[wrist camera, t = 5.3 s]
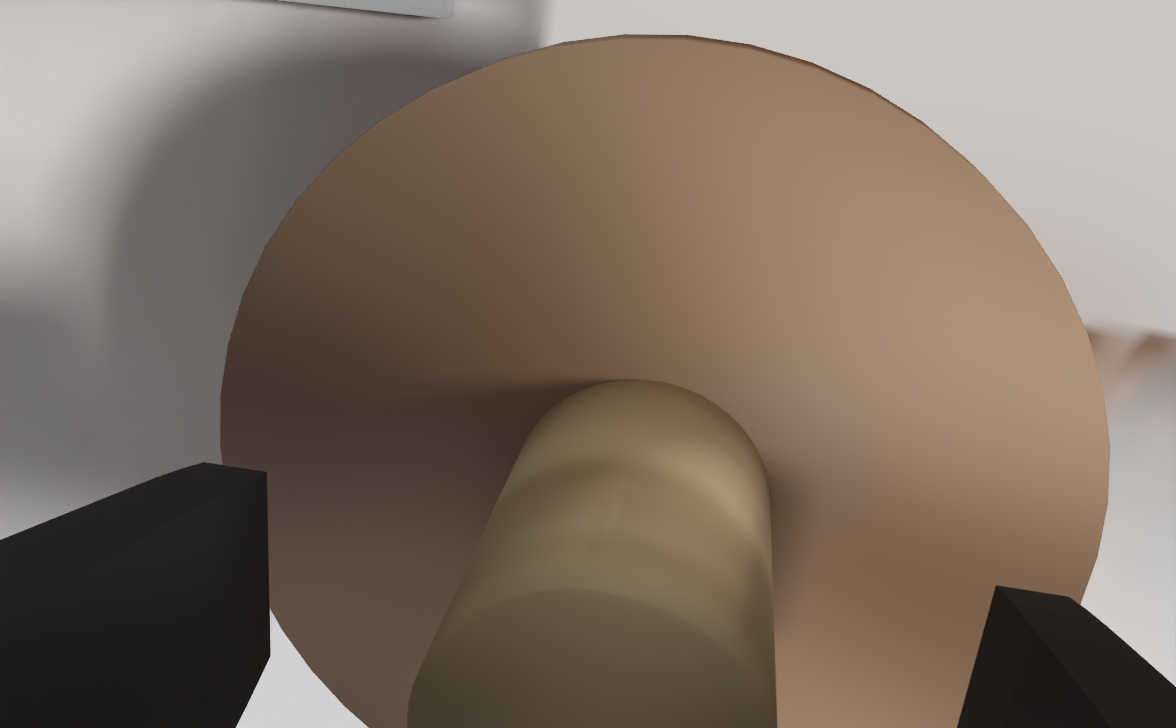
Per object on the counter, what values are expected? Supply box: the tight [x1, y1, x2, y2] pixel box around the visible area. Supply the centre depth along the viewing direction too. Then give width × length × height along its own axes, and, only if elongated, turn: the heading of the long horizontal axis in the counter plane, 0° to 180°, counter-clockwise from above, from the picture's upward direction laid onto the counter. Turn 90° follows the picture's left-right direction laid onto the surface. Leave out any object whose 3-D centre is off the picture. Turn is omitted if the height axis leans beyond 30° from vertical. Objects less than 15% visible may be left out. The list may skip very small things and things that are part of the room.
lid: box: [221, 34, 1110, 728], centre depth 10 cm, size 10×10×5 cm
